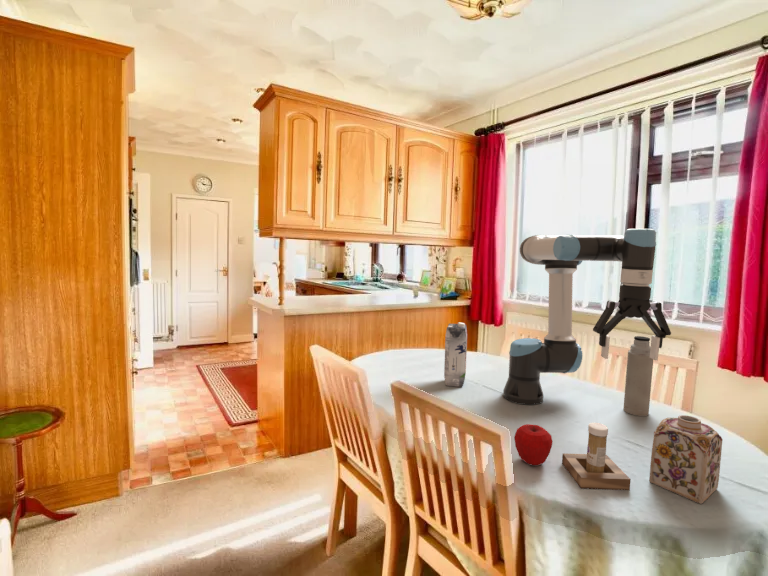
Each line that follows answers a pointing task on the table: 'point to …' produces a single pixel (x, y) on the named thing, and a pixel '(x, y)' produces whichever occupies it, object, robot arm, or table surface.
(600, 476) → the socket board
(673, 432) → the decorative jar
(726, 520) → the table surface
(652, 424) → the table surface
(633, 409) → the thermos bottle
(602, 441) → the sprinkles bottle
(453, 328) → the juice carton
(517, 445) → the apple
